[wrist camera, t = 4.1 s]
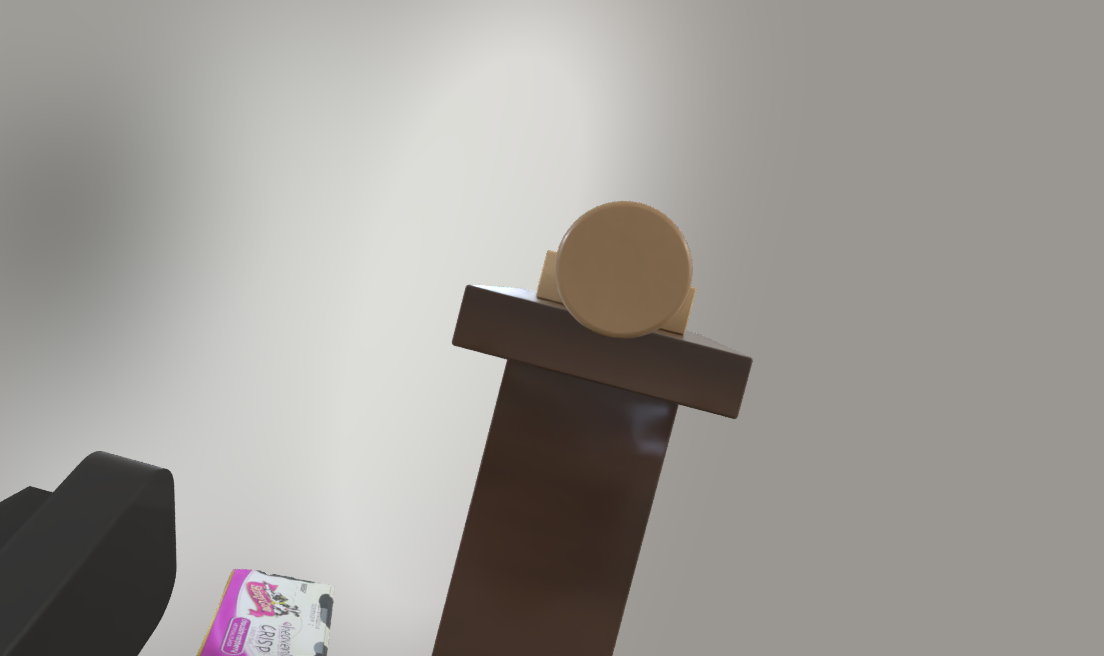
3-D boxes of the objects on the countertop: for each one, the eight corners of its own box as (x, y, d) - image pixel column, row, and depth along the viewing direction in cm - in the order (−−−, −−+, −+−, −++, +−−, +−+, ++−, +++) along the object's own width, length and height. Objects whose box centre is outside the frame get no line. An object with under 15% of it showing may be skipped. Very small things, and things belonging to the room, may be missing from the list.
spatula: (754, 375, 14) (790, 239, 14) (460, 298, 14) (493, 165, 14) (668, 326, 36) (682, 273, 36) (552, 296, 36) (565, 243, 36)
